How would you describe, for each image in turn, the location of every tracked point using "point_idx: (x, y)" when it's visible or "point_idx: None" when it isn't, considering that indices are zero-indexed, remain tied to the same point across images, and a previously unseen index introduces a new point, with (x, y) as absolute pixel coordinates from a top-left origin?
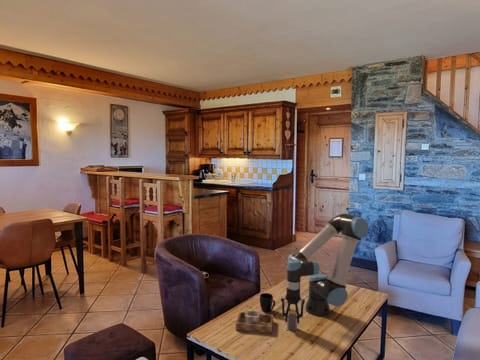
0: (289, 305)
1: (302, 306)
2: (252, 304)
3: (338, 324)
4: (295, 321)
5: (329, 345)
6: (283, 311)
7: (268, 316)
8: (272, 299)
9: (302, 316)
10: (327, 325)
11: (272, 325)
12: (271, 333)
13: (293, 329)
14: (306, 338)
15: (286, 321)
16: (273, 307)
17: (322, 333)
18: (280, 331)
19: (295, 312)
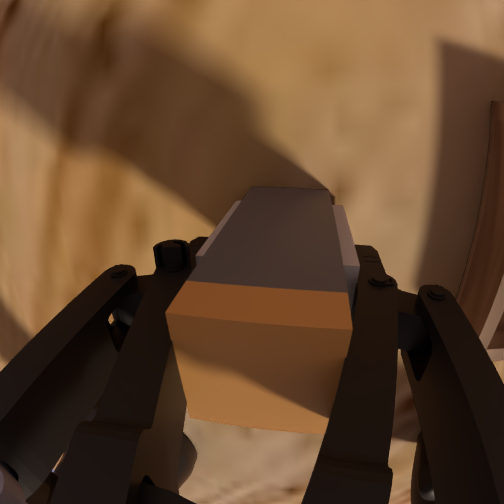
0: (345, 474)
1: (1, 389)
2: None
3: (15, 312)
4: (231, 221)
5: (14, 53)
6: (454, 333)
7: (502, 340)
8: (421, 500)
9: (107, 272)
10: (47, 301)
11: (478, 242)
12: (494, 101)
13: (272, 190)
14: (145, 72)
15: (360, 249)
16: (422, 447)
17: (47, 195)
18: (412, 154)
19: (187, 302)
